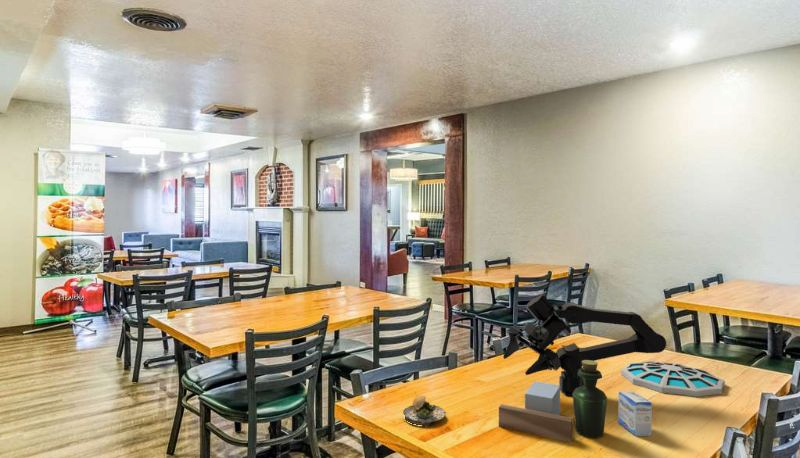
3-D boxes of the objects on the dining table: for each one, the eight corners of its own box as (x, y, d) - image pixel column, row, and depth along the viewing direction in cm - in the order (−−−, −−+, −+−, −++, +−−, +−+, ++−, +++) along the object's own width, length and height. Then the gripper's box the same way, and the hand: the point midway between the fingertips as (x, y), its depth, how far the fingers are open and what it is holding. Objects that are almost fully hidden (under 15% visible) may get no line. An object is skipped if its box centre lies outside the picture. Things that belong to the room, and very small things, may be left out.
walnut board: (501, 422, 122) (501, 404, 122) (572, 438, 113) (572, 418, 113) (498, 426, 120) (498, 407, 120) (570, 442, 111) (570, 421, 111)
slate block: (534, 408, 132) (534, 381, 132) (560, 413, 128) (560, 385, 128) (524, 423, 122) (525, 393, 122) (551, 429, 119) (552, 398, 119)
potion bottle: (579, 440, 112) (580, 367, 112) (567, 425, 121) (567, 357, 120) (612, 440, 112) (613, 367, 112) (598, 425, 121) (598, 357, 120)
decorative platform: (624, 389, 148) (624, 374, 148) (618, 364, 175) (618, 351, 175) (738, 403, 136) (738, 387, 136) (713, 374, 163) (713, 360, 163)
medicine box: (617, 423, 122) (617, 390, 122) (633, 422, 122) (633, 390, 122) (635, 436, 114) (635, 402, 114) (652, 436, 115) (652, 401, 114)
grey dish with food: (433, 431, 118) (433, 402, 117) (394, 421, 124) (394, 393, 124) (453, 415, 128) (453, 388, 128) (416, 406, 134) (416, 381, 134)
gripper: (519, 302, 147) (486, 334, 143) (567, 330, 132) (531, 366, 128) (528, 324, 153) (496, 356, 149) (574, 353, 138) (540, 388, 134)
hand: (514, 365), depth 140 cm, fingers open, 9 cm apart
